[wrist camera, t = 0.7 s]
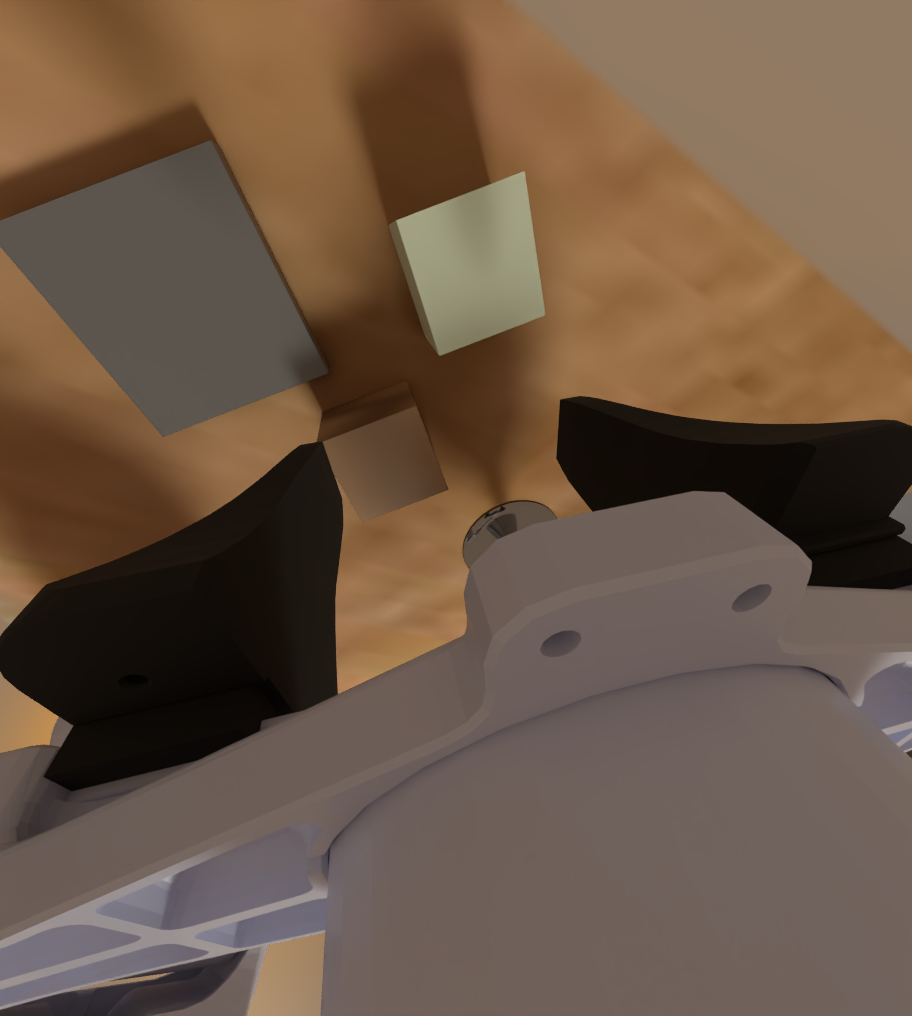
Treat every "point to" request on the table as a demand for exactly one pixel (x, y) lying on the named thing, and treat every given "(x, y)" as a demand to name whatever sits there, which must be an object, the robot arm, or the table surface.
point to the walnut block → (381, 451)
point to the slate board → (170, 287)
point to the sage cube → (472, 264)
